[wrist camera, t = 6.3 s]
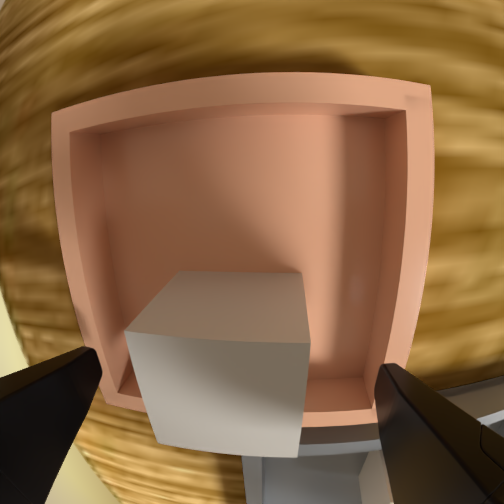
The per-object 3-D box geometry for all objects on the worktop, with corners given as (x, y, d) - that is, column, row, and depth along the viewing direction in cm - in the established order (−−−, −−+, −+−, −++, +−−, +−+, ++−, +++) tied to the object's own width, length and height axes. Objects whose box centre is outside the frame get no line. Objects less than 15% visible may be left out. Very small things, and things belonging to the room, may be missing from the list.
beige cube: (446, 422, 11) (471, 480, 7) (421, 465, 12) (436, 517, 8) (375, 435, 11) (390, 502, 8) (358, 476, 13) (365, 533, 9)
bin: (530, 367, 10) (550, 390, 8) (448, 494, 14) (454, 515, 12) (247, 401, 12) (239, 442, 10) (254, 518, 16) (251, 542, 14)
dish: (399, 100, 8) (430, 85, 6) (374, 381, 11) (387, 421, 9) (92, 118, 9) (51, 112, 7) (129, 370, 12) (106, 403, 10)
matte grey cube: (302, 272, 10) (310, 342, 6) (296, 373, 11) (297, 457, 7) (179, 270, 10) (123, 330, 6) (191, 367, 11) (158, 443, 7)
